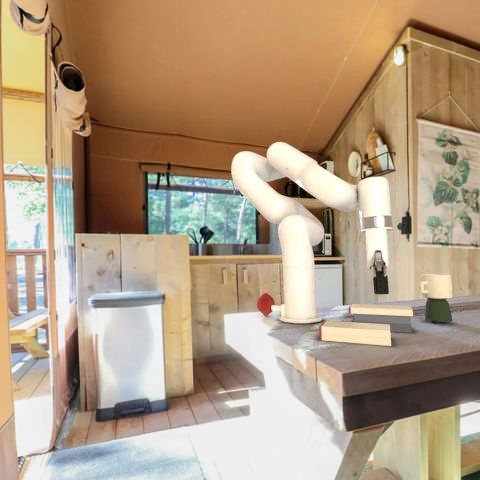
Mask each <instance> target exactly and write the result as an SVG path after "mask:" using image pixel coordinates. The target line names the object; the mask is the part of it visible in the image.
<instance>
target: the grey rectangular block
mask: <svg viewBox="0 0 480 480" xmlns="http://www.w3.org/2000/svg"><path fill="white" fill-rule="evenodd" d="M411 317H412V316H393V315H372V314H353V318H352V320H351V322H356V323H373V324H390V333H391V332H393V333H404V334H405V333H407V334H412V332H413V331H412V318H411Z"/></svg>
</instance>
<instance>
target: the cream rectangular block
mask: <svg viewBox="0 0 480 480" xmlns="http://www.w3.org/2000/svg"><path fill="white" fill-rule="evenodd" d="M318 332H319V333H318V336H319V341H324V342H337V343H349V344H361V345H371V346H383V347H384V346H385V347H392V335H391V334H392V333H391V332H390V324H373V323H356V322H352V321H337V320H336V321H335V320H324V321H323V322H322V323H321V324H320V325H319V326H318Z"/></svg>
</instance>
